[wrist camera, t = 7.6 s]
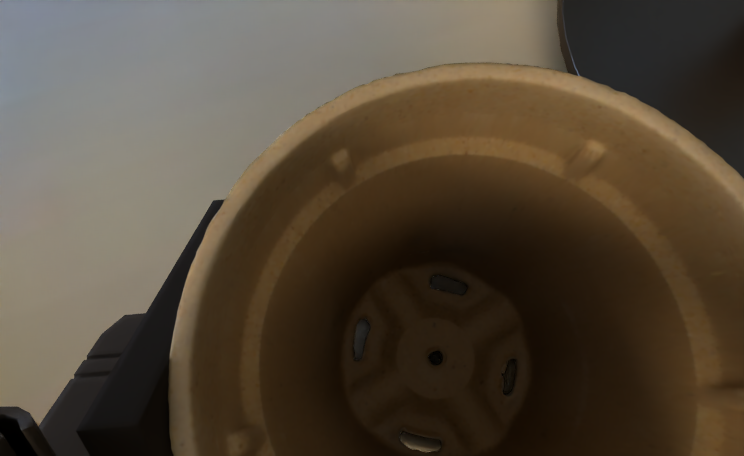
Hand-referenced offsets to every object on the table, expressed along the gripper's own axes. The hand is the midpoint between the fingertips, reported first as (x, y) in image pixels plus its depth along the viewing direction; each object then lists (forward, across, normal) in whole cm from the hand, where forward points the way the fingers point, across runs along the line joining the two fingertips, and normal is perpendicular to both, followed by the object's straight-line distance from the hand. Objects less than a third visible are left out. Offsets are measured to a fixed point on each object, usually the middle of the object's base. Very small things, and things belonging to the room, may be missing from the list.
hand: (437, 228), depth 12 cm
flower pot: (+1, 0, -5) cm, 5 cm away
